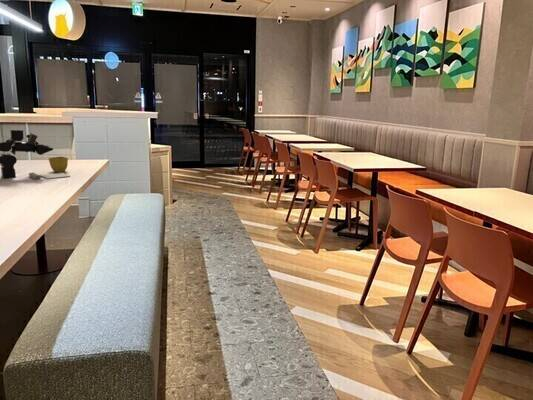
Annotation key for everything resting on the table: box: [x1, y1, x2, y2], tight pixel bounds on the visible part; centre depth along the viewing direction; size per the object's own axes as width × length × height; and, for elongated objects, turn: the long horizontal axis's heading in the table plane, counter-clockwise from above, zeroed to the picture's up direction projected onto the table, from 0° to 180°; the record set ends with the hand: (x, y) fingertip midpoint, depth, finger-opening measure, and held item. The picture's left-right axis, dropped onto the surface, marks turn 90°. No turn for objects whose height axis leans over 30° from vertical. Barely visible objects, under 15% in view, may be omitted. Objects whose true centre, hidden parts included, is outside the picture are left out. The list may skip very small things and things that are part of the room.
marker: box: [28, 172, 41, 181], centre depth 261 cm, size 2×12×2 cm, turn 45°
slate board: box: [39, 172, 71, 180], centre depth 268 cm, size 13×15×1 cm
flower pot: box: [48, 156, 69, 173], centre depth 285 cm, size 9×9×9 cm
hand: (50, 148), depth 275 cm, fingers open, 9 cm apart
